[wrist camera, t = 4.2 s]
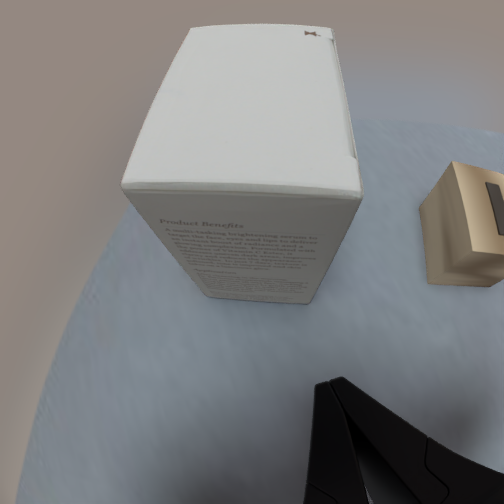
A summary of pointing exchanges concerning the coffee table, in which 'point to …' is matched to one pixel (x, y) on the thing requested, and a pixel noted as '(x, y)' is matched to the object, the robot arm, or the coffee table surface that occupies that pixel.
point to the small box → (249, 161)
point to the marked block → (464, 227)
